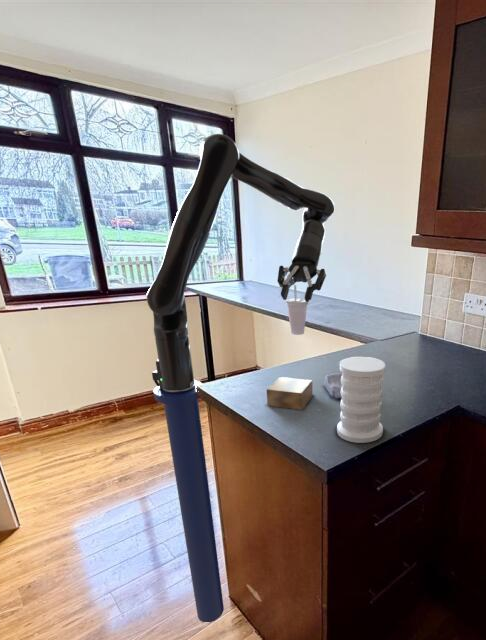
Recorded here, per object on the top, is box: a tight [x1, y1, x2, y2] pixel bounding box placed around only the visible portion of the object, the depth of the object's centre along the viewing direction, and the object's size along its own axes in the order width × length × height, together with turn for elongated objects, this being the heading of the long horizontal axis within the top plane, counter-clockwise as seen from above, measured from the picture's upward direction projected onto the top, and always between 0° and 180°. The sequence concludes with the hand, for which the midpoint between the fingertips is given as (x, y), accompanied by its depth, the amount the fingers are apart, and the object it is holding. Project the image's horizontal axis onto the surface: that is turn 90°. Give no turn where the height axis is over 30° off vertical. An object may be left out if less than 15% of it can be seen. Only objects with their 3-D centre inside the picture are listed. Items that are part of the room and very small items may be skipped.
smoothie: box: [285, 284, 309, 336], centre depth 117 cm, size 6×6×14 cm
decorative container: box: [336, 356, 387, 444], centre depth 99 cm, size 12×12×18 cm
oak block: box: [266, 376, 313, 411], centre depth 116 cm, size 10×10×5 cm
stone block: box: [323, 373, 342, 400], centre depth 125 cm, size 12×5×10 cm
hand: (295, 299), depth 114 cm, fingers closed on smoothie, 6 cm apart
